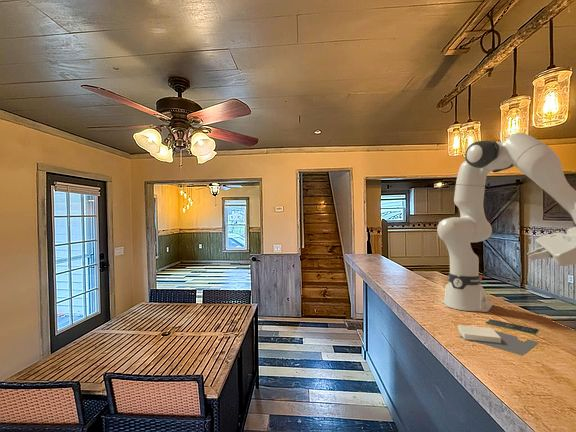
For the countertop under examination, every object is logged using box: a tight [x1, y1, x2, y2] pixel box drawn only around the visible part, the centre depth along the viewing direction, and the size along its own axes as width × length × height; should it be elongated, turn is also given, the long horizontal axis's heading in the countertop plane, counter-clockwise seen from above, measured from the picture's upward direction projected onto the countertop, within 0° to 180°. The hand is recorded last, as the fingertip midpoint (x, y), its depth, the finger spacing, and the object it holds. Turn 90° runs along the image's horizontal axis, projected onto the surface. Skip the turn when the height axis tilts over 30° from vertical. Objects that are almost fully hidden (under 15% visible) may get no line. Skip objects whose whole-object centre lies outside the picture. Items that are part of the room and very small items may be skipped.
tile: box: [457, 324, 501, 344], centre depth 103 cm, size 2×9×10 cm
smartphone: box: [485, 319, 540, 335], centre depth 114 cm, size 8×1×15 cm
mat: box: [459, 330, 540, 356], centre depth 101 cm, size 16×17×1 cm
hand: (529, 256), depth 102 cm, fingers closed
